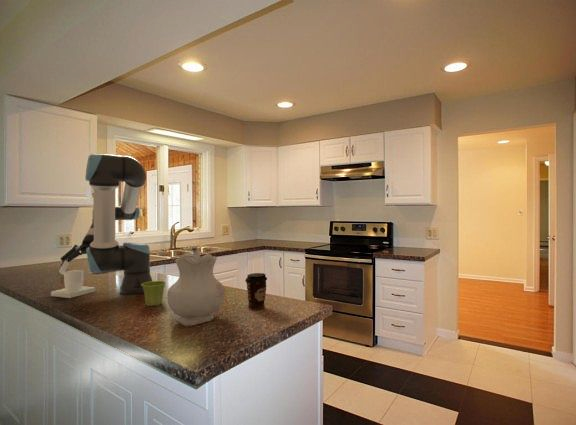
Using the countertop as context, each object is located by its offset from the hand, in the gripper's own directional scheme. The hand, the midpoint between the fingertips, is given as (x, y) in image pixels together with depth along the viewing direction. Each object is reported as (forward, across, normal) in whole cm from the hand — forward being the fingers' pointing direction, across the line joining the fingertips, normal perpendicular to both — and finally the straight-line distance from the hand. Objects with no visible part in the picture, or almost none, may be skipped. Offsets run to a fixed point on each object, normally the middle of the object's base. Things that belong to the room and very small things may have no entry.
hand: (75, 272), depth 159 cm
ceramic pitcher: (+36, -70, +22) cm, 82 cm away
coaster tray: (+8, 0, -6) cm, 10 cm away
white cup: (+8, -1, -5) cm, 9 cm away
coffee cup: (+28, -90, +14) cm, 96 cm away
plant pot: (+23, -47, +9) cm, 53 cm away
